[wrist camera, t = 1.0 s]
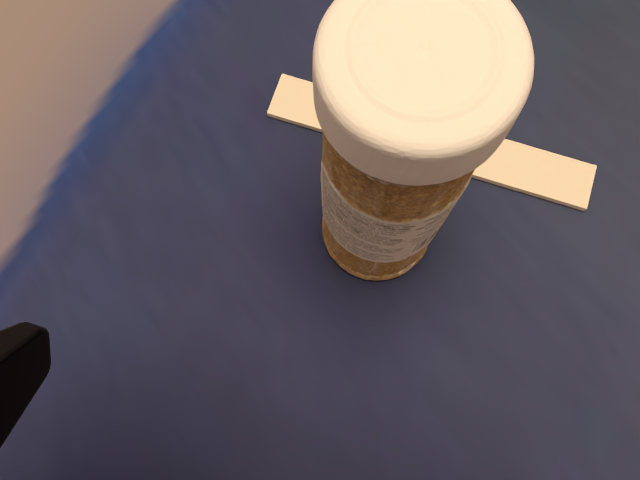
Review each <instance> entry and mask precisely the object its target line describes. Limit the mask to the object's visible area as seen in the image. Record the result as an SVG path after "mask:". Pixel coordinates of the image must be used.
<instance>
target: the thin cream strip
mask: <svg viewBox="0 0 640 480" xmlns="http://www.w3.org/2000/svg"><path fill="white" fill-rule="evenodd" d="M267 116H269V117H272V118H276V119H279V120H282V121H285V122H289V123H292V124H295V125H299V126H302V127H305V128H309V129H312V130H315V131H319V132H322V128H321V126H320V124H319V121H318V118H317V115H316V111H315V106H314V96H313V82H309V81H306V80H302V79H299V78H295V77H292V76H289V75H285V74H282V75H281V78H280V80H279V83H278V85H277V88H276V91H275V93H274V96H273V98H272V101H271V103H270V106H269V109H268V111H267ZM596 168H597V166H596V165H593V164H589V163H586V162H582V161H579V160H576V159H572V158H569V157H565V156H562V155H558V154H555V153H552V152H548V151H545V150H541V149H538V148H535V147H531V146H528V145H524V144H521V143H517V142H514V141H511V140H507V139H504V140H503V142H502V143H501V145H500V146H499V147H498V148H497V150H496V151H495V152H494V153H493V154H492V155H491V156H490V157H489V158H488V160H487V161H485V162H484V163H483V164H482V165H480V166H479V167H478V168H476V169H475V170H474V172H473V174H472V178H475V179H479V180H482V181H485V182H489V183H492V184H495V185H498V186H502V187H505V188H508V189H512V190H515V191H518V192H522V193H525V194H528V195H532V196H535V197H538V198H542V199H545V200H548V201H552V202H555V203H558V204H562V205H565V206H568V207H572V208H575V209H578V210H582V211H585V210H586V209H587V206H588V202H589V198H590V194H591V189H592V185H593V181H594V176H595V172H596Z"/></svg>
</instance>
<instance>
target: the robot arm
mask: <svg viewBox="0 0 640 480" xmlns="http://www.w3.org/2000/svg"><path fill="white" fill-rule="evenodd" d="M50 365H51V355H50V339H49V332H48V331H47V329H46V328H44V327H41V326H38V325H35V324H32V323H29V322H22V323H18V324H16V325H13V326H11V327H8V328H6V329H3V330H1V331H0V447H1V446H2V444H3V443H4V441H5V440H6V438H7V437H8V435H9V434H10V432H11V431H12V429H13V428H14V426H15V424H16V423H17V421H18V420H19V418H20V417H21V415H22V414H23V412H24V410H25V409H26V407H27V406H28V404H29V403H30V401H31V400H32V398H33V396H34V395H35V393H36V392H37V390H38V389H39V387H40V386H41V384H42V383H43V381H44V379H45V378H46V376H47V374H48V372H49V369H50Z"/></svg>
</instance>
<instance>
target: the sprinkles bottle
mask: <svg viewBox="0 0 640 480" xmlns="http://www.w3.org/2000/svg"><path fill="white" fill-rule="evenodd" d="M533 74H534V52H533V46H532V41H531V37H530V34H529V31H528V29H527V26H526V24H525V22H524V20H523V18H522V16H521V14H520V13H519V11H518V10H517V8H516V7H515V6H514V4H513V3H512V2H511V1H510V0H334V2H333V3H332V4H331V5H330V7H329V8H328V10H327V11H326V13H325V15H324V17H323V19H322V21H321V23H320V25H319V28H318V30H317V34H316V38H315V42H314V48H313V74H312V77H313V96H314V106H315V111H316V115H317V118H318V121H319V124H320V126H321V128H322V137H323V143H322V160H321V194H322V210H323V219H322V235H323V239H324V242H325V245H326V247H327V250H328V252H329V254H330V256H331V257H332V258H333V259H334V260H335V261H336V262H337V264H338V265H339V266H340V267H341V268H343V269H344V270H345V271H347V272H348V273H350V274H351V275H354V276H356V277H359V278H362V279H364V280H376V281H379V280H388V279H392V278H395V277H398V276H400V275H402V274H404V273H406V272H408V271H409V270H410V269H411V268H412V267H413V266H415V265H416V264H417V263H418V261H419V260H420V259H421V258H422V257H423V256H424V254H425V252H426V250H427V247H428V244H429V243H430V242H431V240H432V239H433V238H434V236H435V235H436V233H437V232H438V230H439V229H440V227H441V226H442V224H443V223H444V221H445V220H446V218H447V216H448V215H449V213H450V212H451V210H452V209H453V207H454V206H455V204H456V203H457V201H458V200H459V198H460V196H461V195H462V193H463V192H464V190H465V189H466V187H467V186H468V184H469V181H470V179H471V177H472V174H473V172H474V170H475V169H476V168H478V167H479V166H480V165H482V164H483V163H484V162H485V161H487V160H488V158H489V157H490V156H491V155H492V154H493V153H494V152H495V151H496V150H497V148H498V147H499V146H500V145H501V143H502V142H503V140H504V139H505V137H506V136H507V134H508V132H509V131H510V129H511V128H512V126H513V125H514V123H515V121H516V119H517V117H518V116H519V114H520V112H521V110H522V108H523V106H524V105H525V103H526V100H527V98H528V95H529V92H530V90H531V86H532V81H533Z"/></svg>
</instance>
